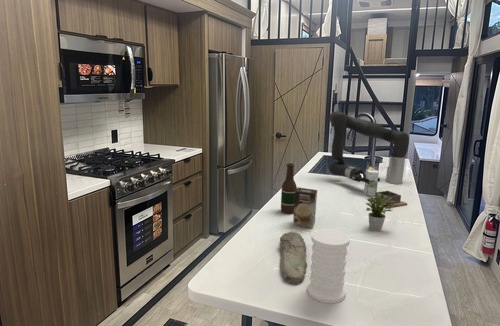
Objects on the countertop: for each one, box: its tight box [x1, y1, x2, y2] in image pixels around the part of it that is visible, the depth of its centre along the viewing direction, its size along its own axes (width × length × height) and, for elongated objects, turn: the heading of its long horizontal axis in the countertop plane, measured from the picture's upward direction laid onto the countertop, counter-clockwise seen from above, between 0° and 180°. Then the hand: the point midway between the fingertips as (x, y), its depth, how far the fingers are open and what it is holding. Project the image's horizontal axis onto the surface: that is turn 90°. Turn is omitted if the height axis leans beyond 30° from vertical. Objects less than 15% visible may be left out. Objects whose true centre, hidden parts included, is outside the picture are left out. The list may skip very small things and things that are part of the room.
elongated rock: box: [279, 231, 308, 285], centre depth 128 cm, size 35×5×10 cm
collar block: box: [369, 190, 408, 209], centre depth 191 cm, size 14×14×6 cm
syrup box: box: [363, 169, 379, 197], centre depth 202 cm, size 6×6×14 cm
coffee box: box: [292, 186, 318, 229], centre depth 157 cm, size 9×6×16 cm
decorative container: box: [306, 228, 350, 304], centre depth 106 cm, size 12×12×18 cm
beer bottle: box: [280, 162, 298, 215], centre depth 172 cm, size 8×8×24 cm
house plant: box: [364, 191, 398, 232], centre depth 154 cm, size 14×14×16 cm
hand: (374, 180), depth 200 cm, fingers closed on syrup box, 7 cm apart
